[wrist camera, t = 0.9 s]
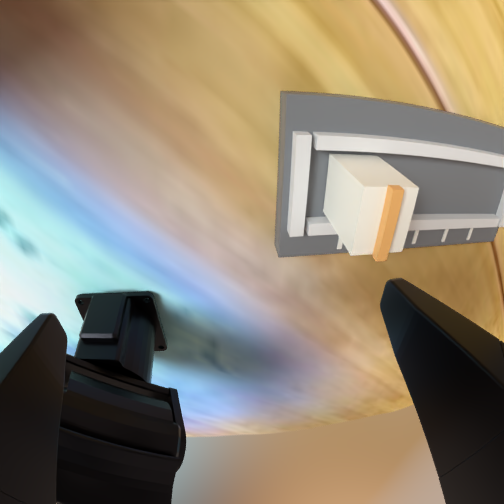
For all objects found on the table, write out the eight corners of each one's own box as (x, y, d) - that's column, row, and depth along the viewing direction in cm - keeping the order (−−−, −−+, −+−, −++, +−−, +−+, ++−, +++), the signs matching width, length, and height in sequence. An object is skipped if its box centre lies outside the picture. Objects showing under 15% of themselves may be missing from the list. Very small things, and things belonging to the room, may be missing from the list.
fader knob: (367, 211, 19) (405, 258, 15) (322, 213, 18) (354, 263, 14) (377, 154, 17) (425, 190, 13) (329, 151, 16) (369, 189, 12)
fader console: (483, 232, 23) (498, 246, 21) (274, 244, 21) (281, 264, 19) (512, 130, 18) (531, 139, 16) (280, 91, 16) (290, 96, 14)
